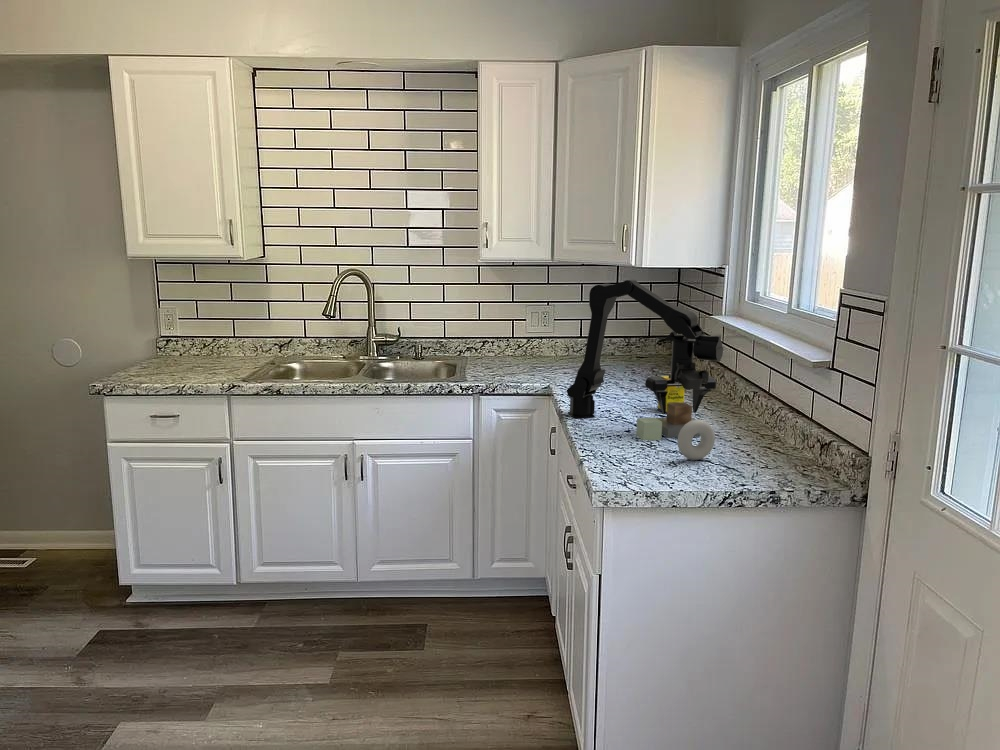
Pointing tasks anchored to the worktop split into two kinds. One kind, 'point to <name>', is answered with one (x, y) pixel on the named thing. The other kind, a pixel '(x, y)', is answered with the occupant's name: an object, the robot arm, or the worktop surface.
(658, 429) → the sage block
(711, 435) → the donut
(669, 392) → the supplement box
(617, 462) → the worktop surface
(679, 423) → the walnut block
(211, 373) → the worktop surface
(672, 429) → the block
